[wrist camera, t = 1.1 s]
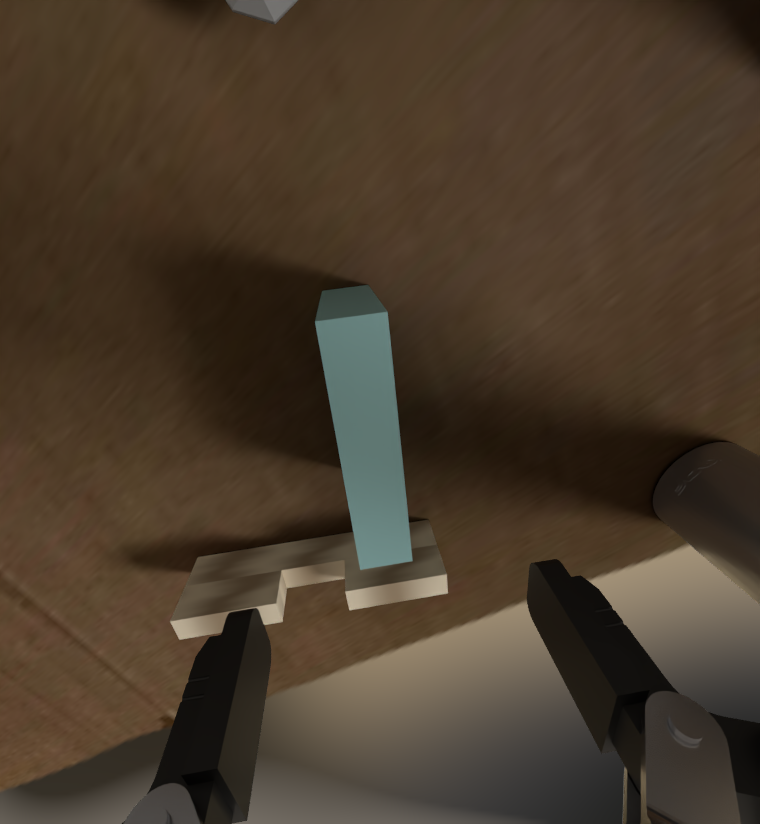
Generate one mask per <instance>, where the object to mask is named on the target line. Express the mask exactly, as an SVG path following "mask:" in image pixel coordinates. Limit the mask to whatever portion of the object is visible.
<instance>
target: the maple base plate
mask: <svg viewBox="0 0 760 824" xmlns="http://www.w3.org/2000/svg"><path fill="white" fill-rule="evenodd" d="M409 530H410V540H411V550H412V560H413V561H410V562H404V563H398V564H392V565H387V566H381V567H375V568H369V569H363V570H360V566H359V560H358V555H357V549H356V544H355V538H354V533H353V532H349V533H343V534H337V535H331V536H325V537H319V538H313V539H306V540H300V541H294V542H288V543H282V544H276V545H270V546H263V547H257V548H251V549H245V550H239V551H233V552H226V553H220V554H214V555H208V556H202V557H198V558H197V560H196V562H195V565H194V567H193V569H192V572H191V574H190V576H189V579H188V581H187V583H186V586H185V588H184V590H183V593H182V595H181V597H180V600H179V602H178V604H177V607H176V609H175V611H174V614H173V616H172V618H171V621H170V622H171V624H172V626H173V628H174V630H175V632H176V634H177V636H178V638H179V640H181V639H186V638H192V637H198V636H204V635H210V634H215V633H221V632H222V631H223V627H224V624H225V620H226V617H227V615H228V614H229V613H230V612H233V611H239V610H246V609H252V608H257V609H258V610H259V612H260V615H261V618H262V621H263V624H264V625H267V624H273V623H279V622H282V621H283V614H284V606H285V599H286V592H287V588H291V587H297V586H303V585H309V584H315V583H321V582H326V581H332V580H338V579H344V578H345V592H346V597H347V601H348V606H349V610H354V609H360V608H366V607H371V606H377V605H383V604H389V603H394V602H400V601H406V600H412V599H418V598H423V597H429V596H435V595H441V594H446V593H448V589H447V573H446V570H445V567H444V564H443V561H442V558H441V555H440V552H439V549H438V546H437V543H436V540H435V537H434V534H433V531H432V528H431V525H430V522H429V520H423V521H417V522H411V523H409Z"/></svg>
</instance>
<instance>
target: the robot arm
mask: <svg viewBox="0 0 760 824" xmlns="http://www.w3.org/2000/svg"><path fill="white" fill-rule="evenodd" d="M653 507H654V511H655V513H656V514H657V516H658V517H659V518H660V519H661V520H662V521H663V522H664V523H666V524H667V525H668V526H669V527H670V528H671V529H673V530H674V531H675V532H676V533H677V534H678V535H679V536H681V537H682V538H683V539H684V540H685V541H686V542H688V543H689V544H690V545H691V546H692V547H693V548H694V549H695V550H696V551H698V552H699V553H700V554H701V555H702V556H703V557H705V558H706V559H707V560H708V561H709V562H710V563H711V564H713V565H714V566H715V567H716V568H717V569H718V570H720V571H721V572H722V573H723V574H724V575H725V576H727V577H728V578H729V579H730V580H731V581H732V582H734V583H735V584H736V585H737V586H738V587H739V588H740V589H742V590H743V591H744V592H745V593H746V594H747V595H749V596H750V597H751V598H752V599H753V600H754V601H755V602H757V603H758V604H759V605H760V456H759V455H757V454H755V453H753V452H751V451H749V450H747V449H745V448H743V447H741V446H739V445H737V444H734V443H729V442H715V443H710V444H706V445H703V446H701V447H698V448H695V449H694V450H692V451H690V452H688V453H686V454H685V455H683V456H682V457H681V458H679V459H678V460H677V461H675V462H674V463H673V464H672V465H671V466H670V467H669V468H668V469H667V470H666V472H665V473H664V474H663V476H662V477H661V478H660V480H659V482H658V484H657V486H656V488H655V491H654V495H653ZM527 604H528V608H529V612H530V615H531V617H532V620H533V622H534V624H535V626H536V628H537V630H538V632H539V634H540V636H541V638H542V639H543V641H544V643H545V645H546V647H547V649H548V651H549V653H550V655H551V657H552V659H553V661H554V663H555V665H556V667H557V668H558V670H559V672H560V674H561V676H562V678H563V680H564V682H565V684H566V686H567V688H568V690H569V691H570V694H571V695H572V697H573V699H574V701H575V703H576V705H577V707H578V709H579V711H580V713H581V715H582V717H583V719H584V721H585V722H586V725H587V726H588V728H589V730H590V732H591V734H592V736H593V738H594V740H595V742H596V744H597V746H598V748H599V750H600V752H601V754H602V753H607V752H612V751H617V752H618V754H619V756H620V758H621V760H622V762H623V764H624V765H625V770H624V795H623V824H760V723H755V722H750V721H744V720H739V719H733V718H728V717H723V716H718V715H715V714H712V713H710V712H707V711H706V710H705V709H704V708H703V707H702V706H700V705H699V704H698V703H696V702H695V701H693V700H691V699H690V698H688V697H686V696H684V695H681V694H679V693H678V692H677V691H676V690H675V689H674V688H673V687H672V685H671V684H670V683H669V682H668V681H667V679H666V678H665V677H664V675H663V674H662V673H661V671H660V670H659V669H658V667H657V666H656V665H655V663H654V662H653V661H652V659H651V658H650V657H649V655H648V654H647V653H646V651H645V650H644V649H643V647H642V646H641V645H640V643H639V642H638V641H637V639H636V638H635V637H634V635H633V634H632V633H631V631H630V630H629V629H628V627H627V626H626V625H624V624H623V621H622V619H621V618H620V617H619V615H618V614H617V613H616V611H614V610H613V609H612V606H611V605H610V603H609V602H608V601H607V599H606V598H605V597H604V596H603V594H602V593H601V592H600V590H599V589H598V588H596V587H595V586H594V585H593V584H591V583H590V582H589V581H587V580H586V579H585V578H583V577H582V576H581V575H580V576H575V577H571V576H570V575H569V573H568V572H567V570H566V569H565V567H564V566H563V565H562V563H561V562H560V561H559V560H557V559H553V560H547V561H541V562H535V563H531V564H530V568H529V579H528V591H527ZM270 666H271V646H270V641H269V638H268V635H267V632H266V629H265V626H264V624H263V621H262V618H261V615H260V612H259V610H258V609H257V608H252V609H246V610H239V611H233V612H230V613H229V614H228V615H227V617H226V620H225V624H224V627H223V631H222V634H221V635H218V636H212V637H209V639H208V640H207V641H206V643H205V644H204V646H203V647H202V649H201V650H200V651H199V653H198V654H197V656H196V658H195V661H194V664H193V667H192V670H191V673H190V675H189V678H188V680H189V681H188V683H187V684H186V687H185V690H184V693H183V696H182V702H180V705H179V708H178V711H177V714H176V717H175V720H174V723H173V726H172V729H171V733H170V735H169V739H168V742H167V744H166V747H165V750H164V753H163V757H162V759H161V762H160V765H159V768H158V772H157V774H156V777H155V780H154V782H153V784H152V786H151V788H150V790H149V792H148V793H147V795H146V796H145V797H144V798H143V799H142V800H140V801H139V802H138V804H137V805H136V806H135V807H134V808H133V810H132V811H131V812H130V814H129V815H128V817H127V819H126V820H125V821H124V822H123V823H122V824H232V823H236V822H242V821H247V817H248V811H249V804H250V797H251V791H252V784H253V777H254V771H255V764H256V758H257V751H258V744H259V738H260V732H261V725H262V719H263V712H264V705H265V699H266V692H267V686H268V679H269V672H270Z"/></svg>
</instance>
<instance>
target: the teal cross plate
mask: <svg viewBox="0 0 760 824" xmlns="http://www.w3.org/2000/svg"><path fill="white" fill-rule="evenodd" d="M315 325H316V330H317V336H318V341H319V347H320V352H321V358H322V363H323V369H324V374H325V380H326V385H327V391H328V396H329V402H330V407H331V413H332V418H333V424H334V429H335V434H336V440H337V445H338V451H339V456H340V462H341V467H342V473H343V478H344V484H345V489H346V495H347V500H348V506H349V511H350V517H351V522H352V528H353V533H354V538H355V544H356V549H357V555H358V560H359V566H360V570H363V569H369V568H375V567H381V566H387V565H392V564H398V563H404V562H410V561H413V560H412V550H411V540H410V530H409V520H408V510H407V500H406V490H405V480H404V470H403V461H402V451H401V441H400V431H399V421H398V411H397V401H396V391H395V381H394V371H393V361H392V351H391V341H390V331H389V321H388V312H387V310H386V309H385V308H384V306H383V305H382V303H381V302H380V301H379V299H378V298H377V296H376V295H375V294H374V292H373V291H372V289H371V288H370V287H369V285H363V286H355V287H348V288H340V289H332V290H324V291H322V294H321V298H320V302H319V306H318V310H317V315H316V319H315Z"/></svg>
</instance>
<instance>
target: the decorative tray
mask: <svg viewBox="0 0 760 824" xmlns="http://www.w3.org/2000/svg"><path fill="white" fill-rule="evenodd" d="M225 1H226V2H227V4H228V5H229V7H230V8H231V10H232V11H233V12H235V13H238V14H242V15H245V16H248V17H252V18H255V19H258V20H262V21H265V22H268V23H272V24H276V23H277V22H278V21H279V20H280V19H281V18H282V17H283V16H284V15H285V14H286V13H287V12H288V10H289V9H290V8H291V7H292V6H293V5H294V4H295V3H296V2H297V1H298V0H225Z"/></svg>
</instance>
